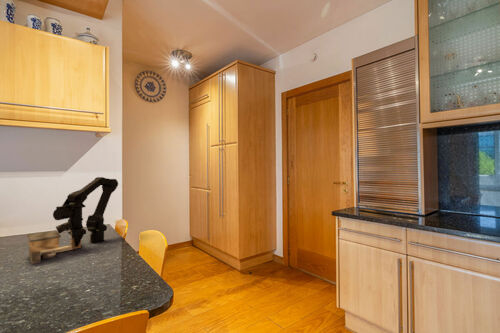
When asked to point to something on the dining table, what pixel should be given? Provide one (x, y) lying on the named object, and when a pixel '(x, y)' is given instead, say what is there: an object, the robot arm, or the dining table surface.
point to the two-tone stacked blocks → (64, 247)
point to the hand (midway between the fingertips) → (75, 245)
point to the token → (49, 254)
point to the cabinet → (42, 244)
